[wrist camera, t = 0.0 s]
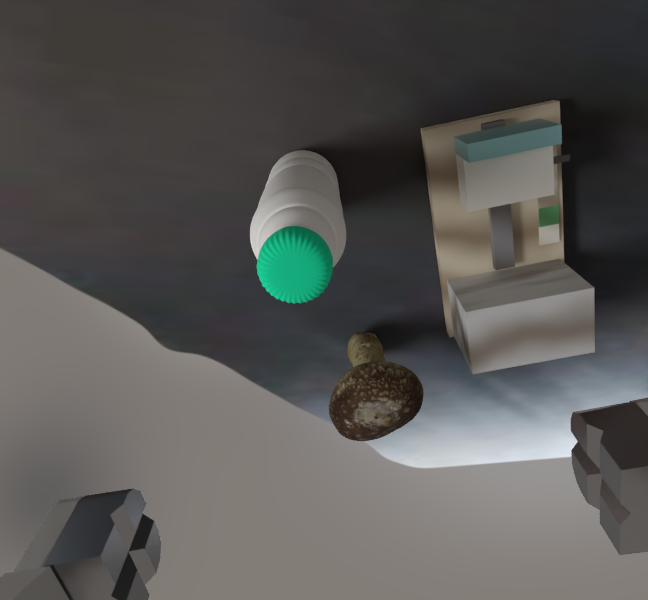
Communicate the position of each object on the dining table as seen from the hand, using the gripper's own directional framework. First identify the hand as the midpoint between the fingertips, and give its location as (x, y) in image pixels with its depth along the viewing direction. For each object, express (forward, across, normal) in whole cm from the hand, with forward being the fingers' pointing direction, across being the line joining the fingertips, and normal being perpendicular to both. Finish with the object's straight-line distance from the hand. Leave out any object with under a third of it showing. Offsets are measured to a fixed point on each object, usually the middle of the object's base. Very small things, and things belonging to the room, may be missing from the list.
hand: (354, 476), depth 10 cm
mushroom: (+48, 0, +23) cm, 54 cm away
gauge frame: (+48, -16, +12) cm, 52 cm away
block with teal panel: (+45, -17, +6) cm, 49 cm away
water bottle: (+48, +3, +4) cm, 48 cm away
